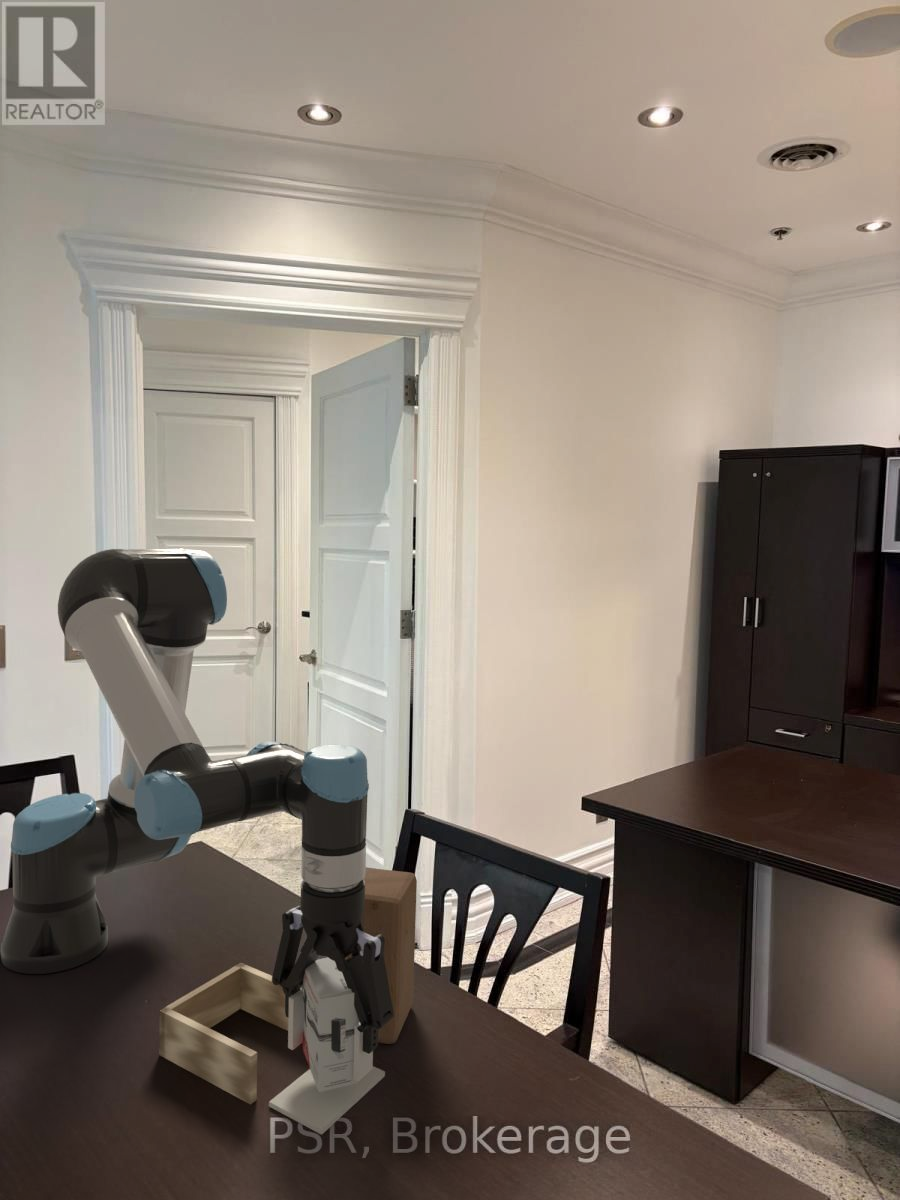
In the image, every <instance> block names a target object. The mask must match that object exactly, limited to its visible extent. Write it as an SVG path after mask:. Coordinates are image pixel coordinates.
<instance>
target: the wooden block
mask: <svg viewBox="0 0 900 1200" xmlns="http://www.w3.org/2000/svg"><path fill="white" fill-rule="evenodd" d="M363 879H364V881H365V907H364V911H363V914H362V918H361V922H362V926H363V928H364V932H365V933H367V934H369V935H371V936H373V937H376V936H377V935H379V934H380V935H382V936H383V937H384V939H385V945H384V954H383V955H384V961H385V967H386V972H387V978H388V984H389V990H390V995H391V1001H392V1007H393V1012H394V1017H393V1018H392V1019H391V1020H390V1021H389V1022H387V1023H386V1024H385V1025H384V1026H383V1027H381V1028H380V1029H378V1043H380V1044H388V1045H391V1044H395V1043H396V1042H397V1041H398V1038H399V1036H400V1034H401V1031H402V1028H403V1027H404V1024H405V1022H406V1020H407V1018H408V1015H409V1012H410V1011H411V1009H412V1005H413V1003H414V985H415V984H414V981H415V980H414V979H415V976H414V975H415V974H414V973H415V951H416V950H415V947H416V923H417V922H416V921H417V920H416V916H417V914H416V913H417V892H418V891H417V889H418V888H417V886H418V885H417V883H418V881H417V876H416V874H415V873H413V872H408V871H399V870H390V869H383V868H382V869H381V868H376V867H375V868H374V867H368V866H366V874H365V877H364V878H363ZM359 945H360V944H359ZM360 948H361V946H360ZM361 950H362V949H361ZM351 955H352V954H350V955H348V956H347V957H345V960H347V959H348V958H350V957H351ZM362 962H363V960H362ZM369 1013H370V1012H369ZM369 1013H368V1014H369ZM359 1022H360V1021H359Z"/></svg>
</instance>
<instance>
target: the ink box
mask: <svg viewBox="0 0 900 1200" xmlns="http://www.w3.org/2000/svg"><path fill="white" fill-rule="evenodd" d="M302 988H303V1043H302V1051H303V1055H304V1056H305V1060H306V1062H307V1064H308V1067H309V1069H310V1070H311V1073H312V1075H313V1078H314V1081H315V1083H316V1086H317V1089H318V1091H319V1092H323V1091H327V1090H331V1089H335V1088H340V1087H344V1086H348V1085H352V1084H356V1083H358V1081H356V1080H354V1079H353V1070H354V1026H355V1025H357V1024H358V1023H359V1018H358V1016H357V1013H356V1010H355V1007H354V993H353V992H352V991H351V989H349V988H348V987H347V985H346V982H345V979H344V976H343V973H342V972H340V971H338V969H337V966H336V963H335V961H333V960H331V959H330V958H328V957H327V956H326V957H324V958H323V957H322V958H317V960H316V961H315V962H314V963H313V964H311V965H310V966H308V967H307V968H306V970H305V974H304V977H303V986H302Z"/></svg>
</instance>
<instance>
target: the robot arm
mask: <svg viewBox="0 0 900 1200" xmlns="http://www.w3.org/2000/svg"><path fill="white" fill-rule="evenodd" d="M226 586H227V585H226V581H225V578H224V575H223V572H222V570H221V567H220V565H219V564H218V562H217V561H216V559H215V558H214V557H213V556H212V555H211V554H210V553H208V552H206V551H204V550H200V549H185V548H182V547H178V548H149V549H148V548H145V549H143V548H142V549H138V548H137V549H134V548H133V549H123V548H111V549H106V550H105V549H104V550H100V551H98V552H96V553H94V554H91V555H89V556H87V557H85V558H83V560H81V561H80V562H79V563H78V564H76V566H75V567H73V568H72V570H71V571H70V573H69V574H68V575H67V577H66V578H65V580H64V581H63V584H62V586H61V589H60V592H59V595H58V596H59V597H58V601H57V616H58V622H59V626H60V628H61V630H62V633H63V635H64V637H65V639H66V642H67V643H68V644H69V646H70V647H72V648H73V649H74V650H76V651H78V652H81V653H82V655H83V657H84V659H85V661H86V663H87V665H88V668H89V669H90V672H91V674H92V675H93V677H94V680H95V681H96V684H97V685H98V687H99V690H100V692H101V693H102V694H101V695H103V697H104V700H105V702H106V704H107V705H108V707H109V710H110V711H111V714H112V715H113V719H114V720H115V723H116V724H117V726H118V728H119V730H120V732H121V734H122V737H123V738H124V742H123V749H122V757H121V759H122V760H121V766H120V767H121V768H120V773H119V774H118V775H116V776H115V777H113V778H112V779H111V780H110V782H109V785H108V792H107V797H106V798H101V799H98V800H95V799H94V797H93V796H91V795H90V794H88V793H84V792H83V793H81V792H72V793H70V794H69V793H61V794H58V795H54V796H53V795H52V796H48V797H45V798H42V799H40V800H37V801H35V802H34V803H32V804H29V805H27V806H26V807H24V808H23V809H22V811H20V812H19V813H18V814H17V815H16V816H15V818H14V820H13V823H12V833H11V842H10V850H11V853H12V854H11V858H12V861H11V863H12V899H13V900H12V901H13V902H12V903H13V904H12V911H11V914H10V917H9V920H8V923H7V926H6V929H5V932H4V935H3V938H2V941H1V945H0V959H1V960H0V961H1V963H2V965H3V966H4V967H5V968H7V969H8V970H10V971H13V972H17V973H20V974H26V975H44V974H53V973H58V972H59V973H60V972H62V971H67V970H71V969H73V968H76V967H79V966H81V965H84V964H86V963H88V962H90V961H92V960H93V959H95V958H96V957H97V956H99V955H100V954H101V953H103V951H104V950H105V949H106V947H108V943H109V939H108V938H109V933H108V930H109V929H108V923H107V920H106V918H105V916H104V913H103V910H102V908H101V906H100V903H99V900H98V898H97V895H96V892H97V891H96V890H97V889H96V886H97V885H96V881H97V880H96V879H97V878H98V877H100V876H103V875H106V874H110V873H115V872H118V871H122V870H125V869H129V868H134V867H138V866H142V865H145V864H148V863H157V862H160V861H163V860H165V859H166V858H169V857H172V856H175V855H177V854H179V853H181V852H182V851H183V850H184V849H185V848H186V846H187V845H188V843H189V842H190V840H191V836H193V834H196V833H199V832H204V831H206V830H210V829H213V828H214V829H215V828H218V827H221V826H225V825H230V824H233V823H238V822H243V821H247V820H252V819H255V818H259V817H265V816H268V815H271V814H276V813H280V812H281V813H282V812H284V813H286V814H288V815H290V816H292V817H294V818H296V819H298V820H301V870H300V871H301V872H300V873H301V878H302V881H301V882H300V905H296V906H294V907H292V908H290V909H289V910H287V911H285V912H283V913H282V914H281V919H282V920H281V922H282V933H281V937H280V942H279V946H278V949H277V954H276V957H275V958H276V959H275V963H274V967H273V973H272V975H271V976H272V982H273V984H274V985H280V986H281V987H282V988H283V992H284V994H285V1014H286V1017H288V1018H289V1020H288V1032H287V1034H288V1035H287V1040H288V1042H287V1048H288V1049H290V1050H291V1051H293V1050H295V1049H296V1048H297V1047H299V1046H300V1045H301V1044H303V977H304V974H305V970H306V968H307V967H308V966H310V965H311V964H313V963H314V962H315V961H316V960H318V959H319V957H326V958H327V957H328V958H330V959H331V960H333V961H335V963H336V966H337V969H338V971H340V972H342V973H343V976H344V979H345V982H346V985H347V987H348V988H349V989H351V991H352V992H353V993H354V1007H355V1010H356V1013H357V1016H358V1018H359V1021H360V1022H359V1023H358V1024H357V1025H355V1026H354V1070H353V1079H354V1080H356V1081H360V1080H361V1079H362V1078H363V1077H364V1076H365V1075H366V1074H367V1073H368V1072H370V1071H371V1070H372V1069H373V1066H374V1064H373V1063H374V1059H373V1058H374V1050H376V1049H377V1048H378V1045H379V1042H378V1029H380V1028H381V1027H383V1026H384V1025H385V1024H386V1023H387V1022H389V1021H390V1020H391V1019H392V1018H393V1017H394V1012H393V1007H392V1001H391V995H390V990H389V984H388V978H387V972H386V967H385V961H384V955H383V954H384V945H385V939H384V937H383V936H382V935H380V934H379V935H377V936H376V937H373V936H371V935H369V934H367V933H365V932H364V928H363V926H362V922H361V918H362V914H363V911H364V907H365V881H364V879H363V878H364V877H365V874H366V867H367V843H366V842H367V839H366V838H367V826H368V825H367V824H368V823H367V822H368V820H367V819H368V817H367V816H368V793H369V789H370V786H369V785H370V783H369V779H368V760H367V759H368V758H367V756H366V754H365V753H364V752H363V751H362V750H360V749H359V748H357V747H355V746H351V745H350V746H346V745H342V744H326V745H317V746H314V747H312V748H310V749H309V750H307V751H305V750H302V749H299V748H298V747H296V746H294V745H292V744H288V743H283V742H278V741H273V740H269V741H264V742H260V743H259V744H257V745H256V746H254V748H252V749H251V750H249V751H248V753H247V754H245V755H241V756H236V757H229V758H225V759H218V760H212V759H211V757H210V756H209V754H208V753H207V752H206V750H205V749H206V748H205V747H204V746H203V744H202V741H200V738H199V737H198V734H197V733H196V731H195V729H194V727H193V726H192V724H191V722H190V720H189V718H188V717H187V715H186V707H187V701H188V695H189V693H188V692H189V688H190V679H191V673H192V665H193V658H194V651H195V649H196V648H198V647H199V646H201V645H202V644H204V643H205V642H206V638H207V632H208V625H212V626H213V625H215V624H217V623H219V622H220V621H221V620H222V619H224V616H225V614H226V612H227V606H228V594H227V593H228V592H227V587H226ZM303 930H304V931H305V934H306V938H305V940H304V942H303V945H302V947H301V948H300V944H301V939H302V935H303V932H304V931H303ZM359 944H360V945H359ZM360 946H361V948H360ZM299 948H300V949H299ZM361 949H362V950H361ZM299 950H300V954H299V956H298V952H299ZM350 954H352V955H351V957H350V958H348V959H347V960H345V957H347V956H348V955H350ZM297 956H298V957H297ZM362 960H363V962H362ZM300 988H301V990H300ZM369 1012H370V1013H369ZM368 1013H369V1014H368Z"/></svg>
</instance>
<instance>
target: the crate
mask: <svg viewBox="0 0 900 1200" xmlns="http://www.w3.org/2000/svg"><path fill="white" fill-rule="evenodd" d="M272 976H273V975H271V974H269V973H266V972H264V971H262V970H259V969H257V968H255V967H252V966H249V965H248V964H245V963H242V962H239V963H238V964H236V965H234V966H233V967H230V968H229V969H227V970H226V971H224V972H223V973H221V974H219V975H217V976H216V977H214V978H212V979H211V980H209V981H207V982H205V983H204V984H202V985H200V986H199V987H197V988H195V989H193V990H191V991H190V992H189V993H187V994H185V995H183V996H181V997H180V998H178V999H176V1000H175V1001H173V1002H172V1003H170V1004H168V1005H167V1006H165V1007H163V1008H161V1009H160V1010H159V1014H158V1016H159V1018H158V1019H159V1021H158V1022H159V1023H158V1025H159V1028H158V1029H159V1039H158V1040H159V1041H158V1042H159V1045H158V1050H159V1051H158V1052H159V1054H158V1055H159V1056H160V1057H163V1058H164V1059H166V1060H167V1061H169V1062H172V1063H173V1064H175V1065H176V1066H178V1067H180V1068H183V1069H184V1070H186V1071H188V1072H189V1073H192V1074H194V1075H195V1076H197V1077H199V1078H201V1079H202V1080H205V1081H206V1082H208V1083H210V1084H212V1085H214V1086H215V1087H217V1088H219V1089H221V1090H223V1091H225V1092H227V1093H228V1094H230V1095H232V1096H234V1097H235V1098H238V1099H239V1100H240V1101H243V1102H245V1103H246V1104H249V1105H252V1104H253V1103H255V1102H256V1101H257V1099H258V1098H257V1097H258V1096H257V1094H258V1093H257V1092H258V1086H257V1085H258V1051H255V1050H254V1049H252V1048H250V1047H248V1046H245V1045H243V1043H242V1044H241V1043H239V1042H238V1041H236V1040H234V1039H231V1038H229V1037H227V1036H225V1035H224V1034H223V1033H222V1034H221V1033H220V1032H218V1031H216V1030H213V1029H211V1028H213V1027H215V1025H218V1024H219V1023H220V1022H222V1021H224V1020H225V1019H227V1018H228V1017H230V1016H232V1015H233V1014H234V1013H236V1012H238V1011H240V1010H242V1011H245V1012H246V1013H249V1014H251V1015H253V1016H255V1017H256V1018H259V1019H262V1020H263V1021H266V1022H267V1023H270V1024H272V1025H274V1026H276V1027H278V1028H280V1029H283V1030H286V1031H288V1020H289V1018H288V1017H286V1014H285V994H284V992H283V988H282V987H281V986H280V985H274V984H273V982H272ZM301 989H302V987H300V990H301Z"/></svg>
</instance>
